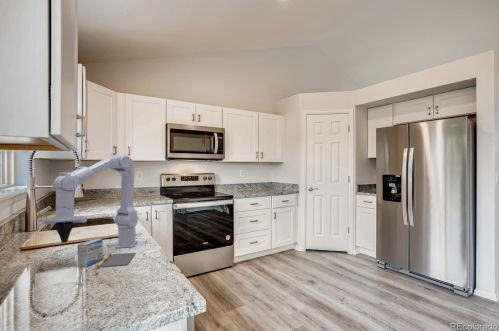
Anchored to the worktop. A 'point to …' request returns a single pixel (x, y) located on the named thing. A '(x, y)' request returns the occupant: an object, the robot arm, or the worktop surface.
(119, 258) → the rubber mat
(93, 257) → the medicine box
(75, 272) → the worktop surface
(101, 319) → the worktop surface
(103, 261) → the oak strip
